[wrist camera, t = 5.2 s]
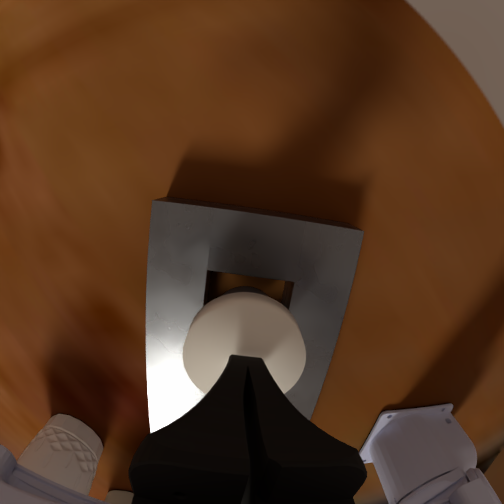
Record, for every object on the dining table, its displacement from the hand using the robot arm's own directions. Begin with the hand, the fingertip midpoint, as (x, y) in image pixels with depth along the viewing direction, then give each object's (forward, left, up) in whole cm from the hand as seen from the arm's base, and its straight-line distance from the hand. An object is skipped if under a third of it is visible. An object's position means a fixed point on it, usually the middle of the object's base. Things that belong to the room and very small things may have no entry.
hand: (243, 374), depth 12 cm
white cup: (+16, +20, -9) cm, 27 cm away
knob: (0, 0, -6) cm, 6 cm away
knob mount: (0, +6, -9) cm, 11 cm away
